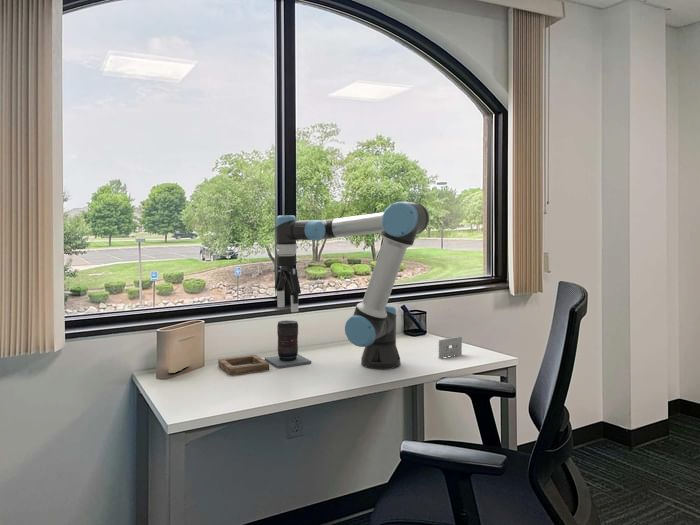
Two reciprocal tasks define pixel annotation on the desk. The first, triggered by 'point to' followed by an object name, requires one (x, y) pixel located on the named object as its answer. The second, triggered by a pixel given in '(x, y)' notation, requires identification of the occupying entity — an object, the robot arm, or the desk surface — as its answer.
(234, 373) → the brown flat square frame
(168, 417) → the desk surface
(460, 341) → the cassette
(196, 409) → the desk surface
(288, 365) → the mat
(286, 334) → the camera lens
